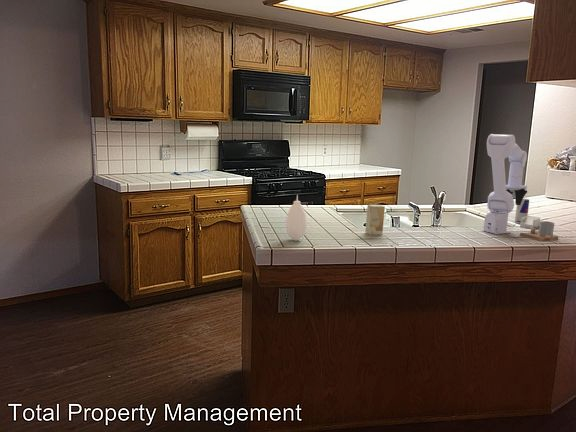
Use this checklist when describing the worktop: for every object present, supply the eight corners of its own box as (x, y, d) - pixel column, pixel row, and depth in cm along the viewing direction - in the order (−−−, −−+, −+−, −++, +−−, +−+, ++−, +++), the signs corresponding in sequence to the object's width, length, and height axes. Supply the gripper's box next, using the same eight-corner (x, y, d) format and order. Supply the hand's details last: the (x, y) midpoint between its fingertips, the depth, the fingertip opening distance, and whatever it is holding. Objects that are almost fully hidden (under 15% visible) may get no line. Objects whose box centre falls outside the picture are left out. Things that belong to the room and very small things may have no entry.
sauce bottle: (281, 239, 184) (282, 193, 181) (295, 237, 190) (297, 192, 187) (295, 243, 179) (297, 196, 176) (309, 240, 184) (311, 194, 181)
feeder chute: (525, 225, 231) (527, 215, 230) (539, 227, 226) (540, 217, 226) (519, 227, 225) (520, 217, 224) (533, 229, 220) (534, 219, 220)
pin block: (540, 241, 196) (541, 231, 195) (519, 235, 205) (520, 226, 204) (557, 239, 201) (559, 229, 200) (536, 234, 210) (538, 224, 209)
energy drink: (527, 224, 233) (530, 200, 231) (516, 223, 234) (519, 199, 232) (524, 222, 238) (527, 198, 236) (513, 221, 239) (516, 197, 237)
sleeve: (540, 237, 198) (542, 223, 197) (535, 234, 203) (537, 220, 202) (554, 238, 197) (556, 224, 196) (549, 235, 202) (551, 221, 201)
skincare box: (369, 235, 197) (371, 206, 195) (364, 233, 201) (366, 204, 199) (383, 234, 199) (385, 206, 197) (378, 232, 203) (380, 204, 201)
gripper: (519, 175, 226) (515, 203, 229) (497, 175, 220) (494, 204, 223) (532, 176, 220) (528, 205, 223) (510, 177, 214) (506, 207, 216)
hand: (512, 205), depth 222 cm, fingers open, 7 cm apart
